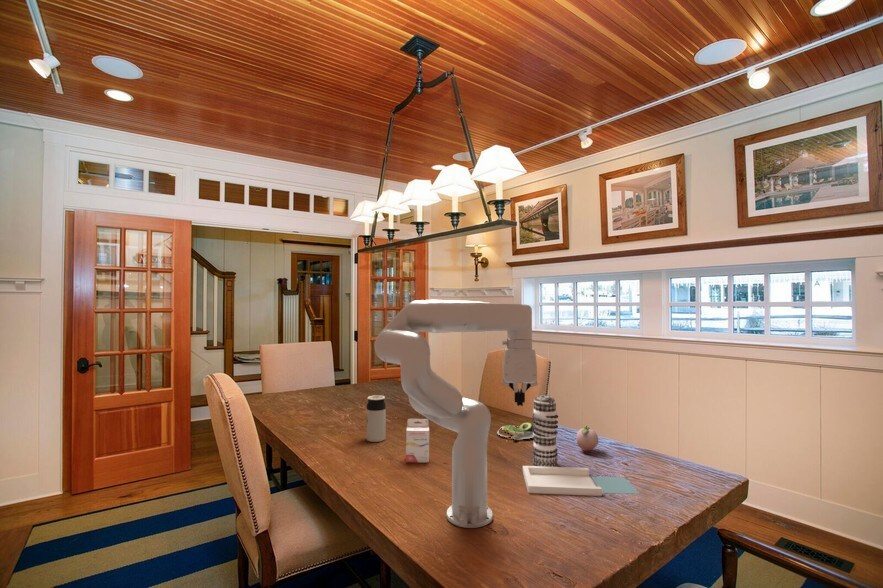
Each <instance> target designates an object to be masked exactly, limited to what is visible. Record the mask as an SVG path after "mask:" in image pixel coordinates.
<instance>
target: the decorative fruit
mask: <svg viewBox="0 0 883 588" xmlns="http://www.w3.org/2000/svg"><path fill="white" fill-rule="evenodd" d="M575 436H576V437H575V438H576V439H575V440H576V443H577V446H578V447H579V448H580V449H581V450H582V451H584V452H590V451H592V450H594V449H595V448H596V447H597V446H598V444H599V437H598V436H599V435H598V434H597V432H596V431H595V430H593V429H592V428H590V427H588V426H587V425H585V427H583V428H582V427H581V428H580V429H579V430H578V431H577V433H576V435H575Z"/></svg>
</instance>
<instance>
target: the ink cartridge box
mask: <svg viewBox="0 0 883 588" xmlns="http://www.w3.org/2000/svg"><path fill="white" fill-rule="evenodd" d="M406 420H407V426H406V433H405V439H406V440H405V462H406V463H429V459H430V427H429V425H430V423H429V421H430V420H429V419H428V418H408V419H406ZM417 422H418V423H417Z"/></svg>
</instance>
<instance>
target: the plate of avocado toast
mask: <svg viewBox="0 0 883 588" xmlns="http://www.w3.org/2000/svg"><path fill="white" fill-rule="evenodd" d="M515 426H517V425H511V424H508V425H503V426H501V427H500V428H499V429H498V430H497V431H496V434H497V435H498V436H499V435H500V436H504V437H509V436H508V435H507V436H506V435H504V434H503V435H502V434H500V433H499V430H500V429H501V428H502V430H505V431H508V432H509V433H510V434H511V435H512V436H513V437H511V435H510V434H509V435H510V437H511V438H512V439H514V440H513V441H518V440H517V439H529V440H531V439H530V438H532V439H534V435H533V431H532V430H533V427H532V426H533V423H531V422H529V421H528V422H523V423H520V425H519V426H517V427H519V428H516V427H515ZM534 431H535V430H534ZM524 433H527V434H524ZM500 436H499V437H500Z"/></svg>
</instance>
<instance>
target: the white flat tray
mask: <svg viewBox="0 0 883 588" xmlns="http://www.w3.org/2000/svg"><path fill="white" fill-rule="evenodd" d="M522 474H523V478H524V482H525V485H526V489H527V493H528V494H545V495H548V494H549V495H570V496H571V495H572V496H594V497H595V496H596V497H598V496H600V497H602V496H603V493H602V488H601V487H598V486H597V485H596V484H595V482H594V481H593V480H592V478H591V476H590V469H589V467H575V466H574V467H573V466H572V467H571V466H556V467H547V466H535V465H522Z"/></svg>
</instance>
